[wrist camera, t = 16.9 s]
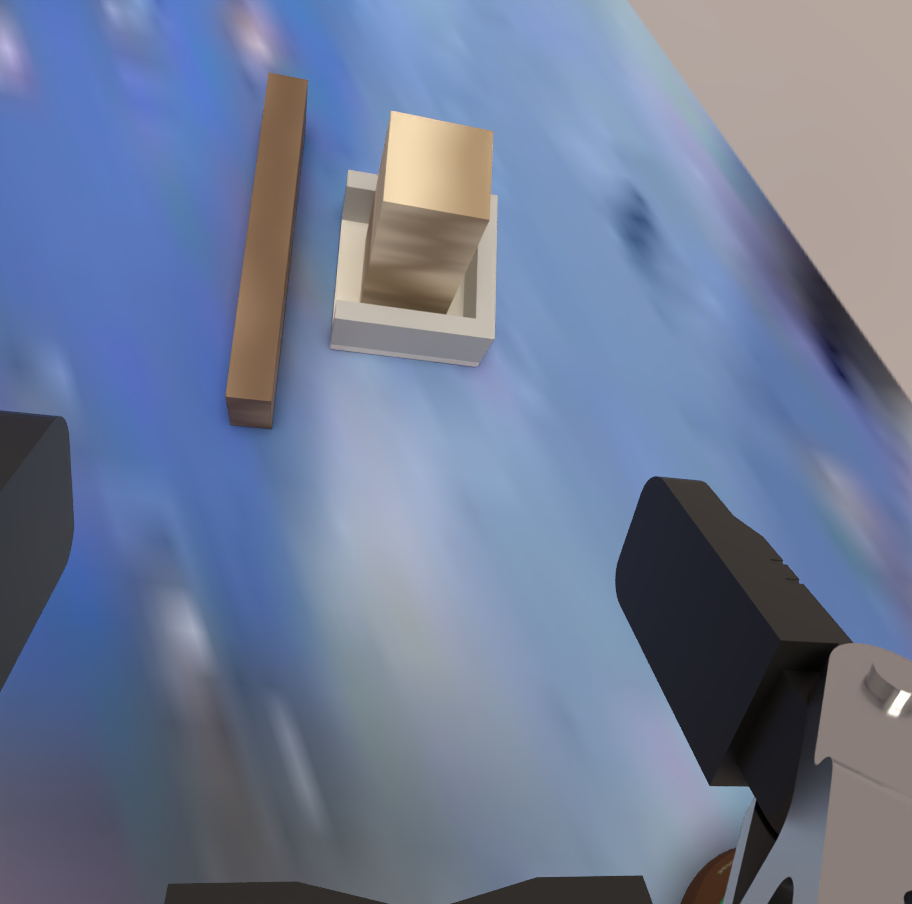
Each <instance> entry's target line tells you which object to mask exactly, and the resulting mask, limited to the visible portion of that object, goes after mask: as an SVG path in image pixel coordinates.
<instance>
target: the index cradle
mask: <svg viewBox="0 0 912 904" xmlns="http://www.w3.org/2000/svg"><path fill="white" fill-rule="evenodd" d="M377 179H378V175H376V174H370V173H364V172H359V171H353V170H348V175H347V182H346V189H345V196H344V203H343V211H342V222H341V233H340V244H339V255H338V266H337V277H336V288H335V299H334V309H333V320H332V331H331V342H330V349H335V350H344V351H352V352H360V353H368V354H376V355H384V356H392V357H400V358H408V359H416V360H424V361H432V362H441V363H449V364H457V365H465V366H473V367H477V366H478V365H479V363H480V362H481V360H482V358H483V357H484V355H485V354H486V352H487V351H488V349H489V347H490V346H491V344H492V343H493V341H494V340H495V299H496V248H497V198H498V195H492V194H491V202H490V220H489V223H488V225H487V227H486V229H485V231H484V233H483V236H482V238H481V240H480V242H479V244H478V247H477V249H476V251H475V253H474V255H473V257H472V260H471V262H470V264H469V266H468V268H467V270H466V273H465V275H464V277H463V279H462V281H461V283H460V286H459V288H458V290H457V292H456V294H455V296H454V299H453V301H452V303H451V305H450V307H449V309H448V312H447V314H446V315H445V314H438V313H431V312H423V311H416V310H409V309H401V308H394V307H387V306H379V305H372V304H365V303H359V302H360V291H361V281H362V270H363V260H364V250H365V239H366V234H367V229H368V224H369V219H370V214H371V209H372V204H373V199H374V194H375V189H376V184H377Z"/></svg>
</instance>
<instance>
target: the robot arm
mask: <svg viewBox="0 0 912 904" xmlns="http://www.w3.org/2000/svg"><path fill="white" fill-rule="evenodd" d="M73 531H74V513H73V496H72V478H71V460H70V443H69V431H68V426H67V423H66V421H65V419H64V418H63V417H61V416H50V415H40V414H30V413H20V412H10V411H0V691H1V689H2V688H3V686H4V684H5V682H6V680H7V678H8V676H9V674H10V672H11V670H12V668H13V666H14V665H15V663H16V661H17V659H18V657H19V655H20V653H21V651H22V649H23V647H24V645H25V643H26V642H27V640H28V638H29V636H30V634H31V632H32V630H33V628H34V626H35V624H36V622H37V621H38V619H39V617H40V615H41V613H42V611H43V609H44V607H45V605H46V603H47V601H48V599H49V598H50V596H51V594H52V592H53V590H54V588H55V586H56V584H57V582H58V580H59V578H60V577H61V575H62V573H63V571H64V569H65V567H66V564H67V561H68V558H69V555H70V551H71V546H72V540H73ZM782 562H783V560H782V558H781V557H780V556H779V555H778V554H777V553H776V551H775V550H774V549H773V548H772V547H771V546H770V544H769V543H768V542H767V541H766V540H765V538H764V537H763V536H761V535H760V534H758V533H757V532H756V531H754V530H753V529H751V528H750V527H749V526H747V525H746V524H744V523H743V522H741V521H740V520H739V519H737V518H736V517H734V516H733V515H732V513H731V512H730V511H729V510H728V509H727V507H726V506H725V505H724V504H723V503H722V501H721V500H720V499H719V498H718V496H717V495H716V494H715V493H714V492H713V490H712V489H711V488H710V487H709V486H708V485H707V484H706V483H705V482H703V481H698V480H688V479H678V478H668V477H657V476H655V477H652V478H650V479H649V480H648V481H647V483H646V484H645V486H644V488H643V490H642V492H641V495H640V498H639V501H638V504H637V507H636V510H635V513H634V516H633V519H632V522H631V524H630V527H629V530H628V533H627V536H626V539H625V542H624V545H623V548H622V551H621V554H620V557H619V560H618V563H617V568H616V578H615V584H616V593H617V598H618V601H619V604H620V606H621V608H622V610H623V612H624V614H625V616H626V618H627V620H628V622H629V624H630V626H631V628H632V630H633V632H634V634H635V636H636V638H637V640H638V642H639V644H640V646H641V648H642V650H643V652H644V654H645V657H646V659H647V661H648V663H649V665H650V667H651V669H652V671H653V673H654V675H655V677H656V679H657V681H658V683H659V685H660V687H661V689H662V691H663V693H664V695H665V697H666V699H667V701H668V703H669V705H670V707H671V709H672V711H673V713H674V715H675V717H676V719H677V721H678V723H679V725H680V727H681V729H682V731H683V733H684V735H685V737H686V739H687V741H688V743H689V745H690V747H691V749H692V751H693V753H694V755H695V757H696V759H697V761H698V764H699V766H700V768H701V770H702V772H703V774H704V776H705V778H706V780H707V782H708V784H709V786H749V787H750V789H751V791H752V793H753V795H754V798H753V800H752V802H751V804H750V806H749V807H748V809H747V811H746V814H745V816H744V819H743V823H742V827H741V831H740V836H739V840H738V844H737V848H736V852H735V856H734V860H733V864H732V868H731V873H730V877H729V881H728V885H727V889H726V893H725V897H724V901H723V904H912V661H910V660H908V659H906V658H904V657H902V656H900V655H898V654H896V653H893V652H891V651H888V650H886V649H883V648H879V647H876V646H872V645H867V644H859V643H853V642H852V641H851V639H850V638H849V637H848V636H847V635H846V634H845V632H844V631H843V630H842V629H841V628H840V627H839V625H838V624H837V623H836V622H835V621H834V619H833V618H832V617H831V616H830V615H829V614H828V612H827V611H826V610H825V609H824V608H823V607H822V605H821V604H820V603H819V602H818V601H817V600H816V598H815V597H814V596H813V595H812V594H811V592H810V591H809V590H808V589H807V588H806V587H805V585H804V584H799V578H798V577H797V576H796V575H795V574H794V573H793V571H792V570H791V569H790V568H789V567H788V565H785V564H783V563H782ZM164 904H387V903H383V902H379V901H375V900H370V899H366V898H362V897H358V896H354V895H350V894H346V893H341V892H337V891H333V890H329V889H325V888H321V887H317V886H312V885H308V884H304V883H300V882H249V883H192V884H168V888H167V893H166V898H165V903H164ZM452 904H653V903H652V901H651V898H650V895H649V892H648V890H647V887H646V884H645V881H644V879H643V876H590V877H537V878H533V879H530V880H527V881H524V882H520V883H517V884H514V885H511V886H507V887H504V888H501V889H498V890H494V891H491V892H488V893H485V894H482V895H478V896H475V897H472V898H469V899H465V900H462V901H459V902H456V903H452Z"/></svg>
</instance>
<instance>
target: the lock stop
mask: <svg viewBox="0 0 912 904" xmlns="http://www.w3.org/2000/svg"><path fill="white" fill-rule="evenodd" d="M492 151H493V131H489V130H484V129H479V128H474V127H469V126H464V125H459V124H454V123H450V122H445V121H440V120H435V119H430V118H425V117H420V116H415V115H410V114H405V113H400V112H395V111H391V115H390V120H389V125H388V130H387V135H386V139H385V144H384V149H383V154H382V159H381V164H380V169H379V174H378V179H377V184H376V189H375V194H374V199H373V204H372V209H371V214H370V219H369V224H368V229H367V234H366V239H365V250H364V260H363V270H362V281H361V291H360V302H359V303H365V304H372V305H379V306H387V307H394V308H401V309H409V310H416V311H423V312H431V313H438V314H445V315H446V314H447V312H448V309H449V307H450V305H451V303H452V301H453V299H454V296H455V294H456V292H457V290H458V288H459V286H460V283H461V281H462V279H463V277H464V275H465V273H466V270H467V268H468V266H469V264H470V262H471V260H472V257H473V255H474V253H475V251H476V249H477V247H478V244H479V242H480V240H481V238H482V236H483V233H484V231H485V229H486V227H487V225H488V223H489V220H490V202H491V176H492Z"/></svg>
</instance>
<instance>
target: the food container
mask: <svg viewBox="0 0 912 904" xmlns="http://www.w3.org/2000/svg"><path fill="white" fill-rule="evenodd" d="M735 852H736V848H734V849H731V850H729V851H726V852H724V853H722V854H720V855H718V856H717V857H715V858H714V859H713V860H711V861H710V862H709V863H707V864H706V865H705V866H704V867H703V869H702V870H701V871H700V872H699V873H698V874H697V875H696V877H695V878H694V880H693V881H692V883H691V884H690V885H689V887H688V889H687V891H686V893H685V895H684V897H683V899H682V902H681V904H723V901H724V897H725V893H726V889H727V885H728V881H729V877H730V873H731V868H732V864H733V860H734V856H735Z"/></svg>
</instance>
